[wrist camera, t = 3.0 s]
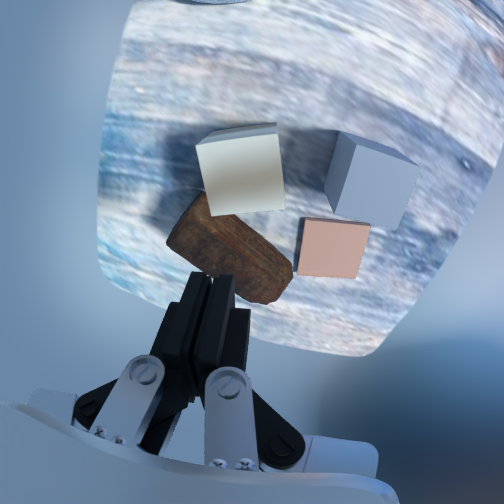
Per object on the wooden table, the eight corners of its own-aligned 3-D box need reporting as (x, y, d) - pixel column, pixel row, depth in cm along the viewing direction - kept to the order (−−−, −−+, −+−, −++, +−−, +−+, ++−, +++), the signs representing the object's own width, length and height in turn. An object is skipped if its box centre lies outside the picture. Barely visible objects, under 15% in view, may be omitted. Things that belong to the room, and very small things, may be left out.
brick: (179, 217, 25) (161, 246, 21) (204, 187, 23) (188, 212, 19) (264, 281, 28) (262, 315, 24) (293, 258, 26) (295, 292, 22)
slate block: (339, 130, 19) (356, 144, 15) (394, 148, 19) (421, 167, 15) (322, 187, 22) (334, 214, 18) (375, 201, 22) (395, 230, 18)
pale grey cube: (212, 131, 20) (195, 145, 16) (276, 122, 19) (277, 133, 15) (223, 188, 23) (211, 216, 19) (283, 182, 22) (285, 209, 18)
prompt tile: (305, 217, 23) (305, 220, 23) (369, 223, 23) (371, 226, 23) (296, 271, 27) (296, 275, 26) (354, 275, 27) (355, 278, 26)
